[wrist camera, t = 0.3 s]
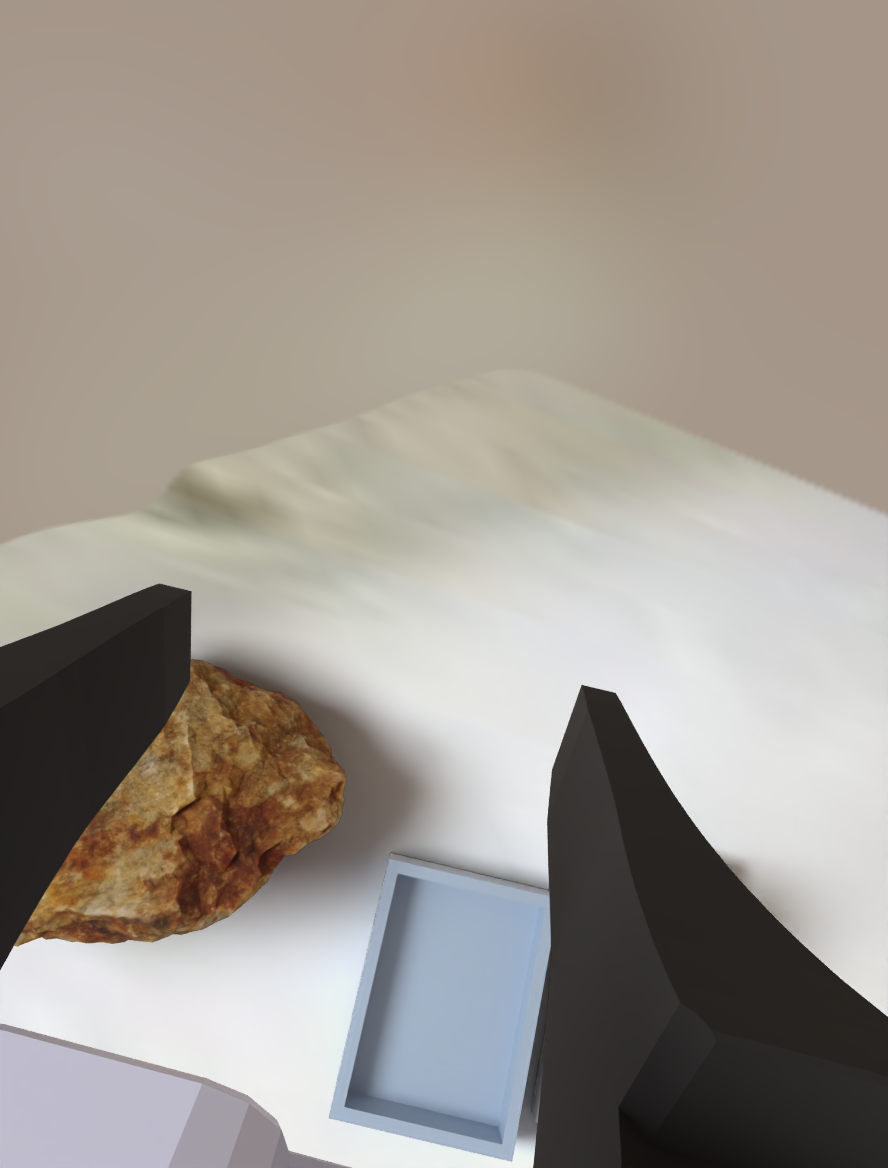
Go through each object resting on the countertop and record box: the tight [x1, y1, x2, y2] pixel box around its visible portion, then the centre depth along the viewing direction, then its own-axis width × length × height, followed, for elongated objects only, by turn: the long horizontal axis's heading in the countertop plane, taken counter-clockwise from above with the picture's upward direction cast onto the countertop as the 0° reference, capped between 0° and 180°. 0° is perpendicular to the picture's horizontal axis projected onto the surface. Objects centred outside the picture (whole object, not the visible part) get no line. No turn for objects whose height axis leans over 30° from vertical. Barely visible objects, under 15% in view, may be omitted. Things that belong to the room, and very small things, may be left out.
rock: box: [14, 659, 346, 946], centre depth 35 cm, size 20×15×10 cm
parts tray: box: [329, 853, 551, 1162], centre depth 37 cm, size 12×9×2 cm
